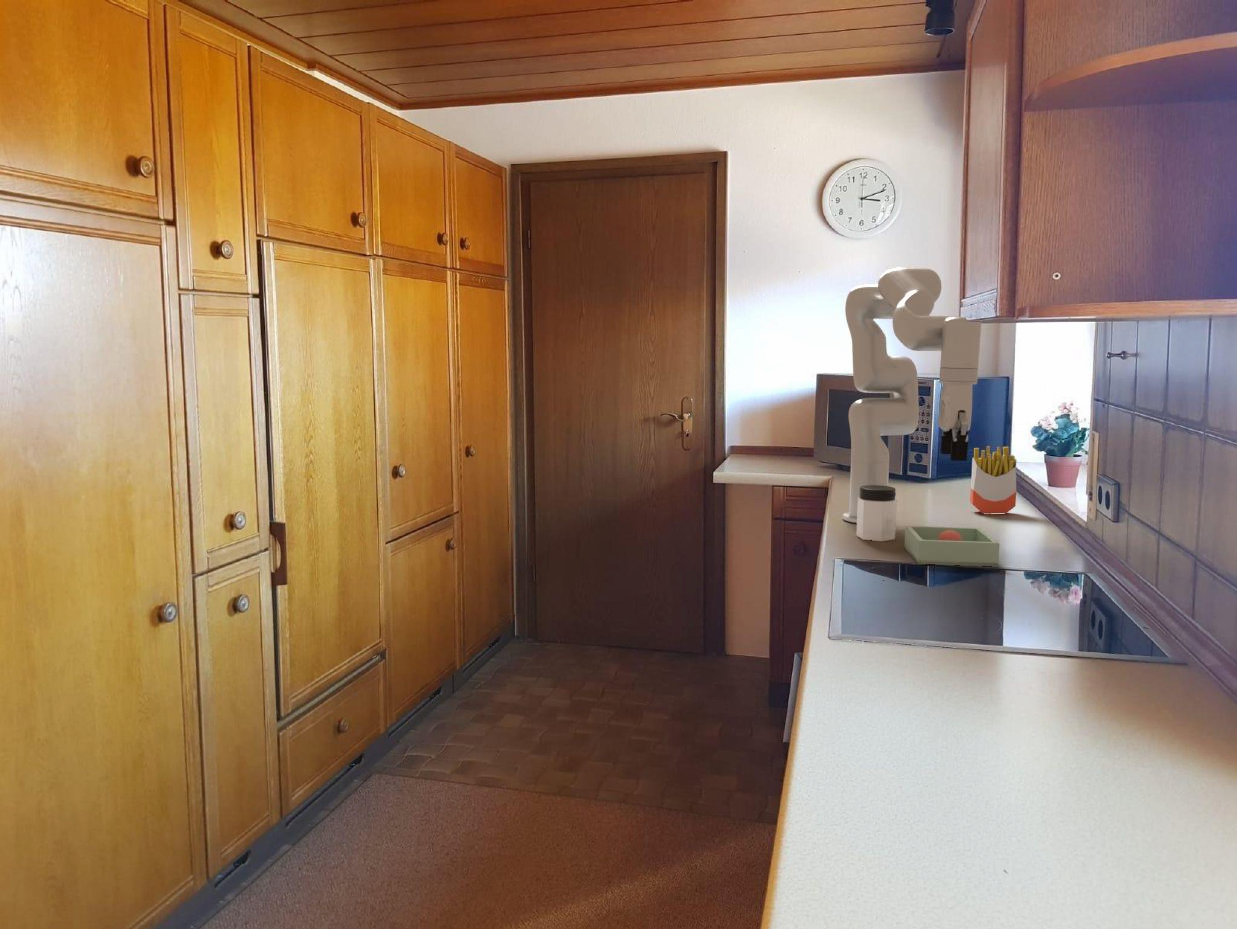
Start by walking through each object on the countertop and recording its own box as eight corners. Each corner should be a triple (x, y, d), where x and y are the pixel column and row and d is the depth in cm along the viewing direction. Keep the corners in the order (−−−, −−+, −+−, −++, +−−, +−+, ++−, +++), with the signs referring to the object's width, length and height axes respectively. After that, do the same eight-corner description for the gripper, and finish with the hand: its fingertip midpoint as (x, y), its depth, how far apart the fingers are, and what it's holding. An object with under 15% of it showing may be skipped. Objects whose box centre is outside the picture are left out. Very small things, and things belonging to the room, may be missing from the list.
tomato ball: (934, 549, 203) (936, 527, 202) (958, 550, 202) (960, 528, 202) (939, 555, 198) (940, 532, 197) (964, 556, 198) (965, 533, 197)
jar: (876, 543, 214) (878, 491, 212) (849, 536, 221) (851, 486, 219) (902, 538, 219) (904, 488, 217) (875, 532, 226) (877, 483, 224)
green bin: (904, 547, 209) (905, 525, 209) (978, 549, 207) (979, 527, 207) (917, 564, 194) (918, 540, 193) (997, 567, 192) (999, 543, 191)
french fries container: (1015, 515, 249) (1019, 448, 247) (972, 513, 251) (976, 447, 249) (1011, 512, 254) (1015, 446, 251) (969, 510, 256) (973, 445, 253)
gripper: (931, 373, 204) (927, 451, 207) (948, 378, 187) (943, 462, 190) (967, 374, 203) (962, 452, 206) (987, 379, 186) (981, 463, 189)
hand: (953, 457), depth 198 cm, fingers open, 9 cm apart
